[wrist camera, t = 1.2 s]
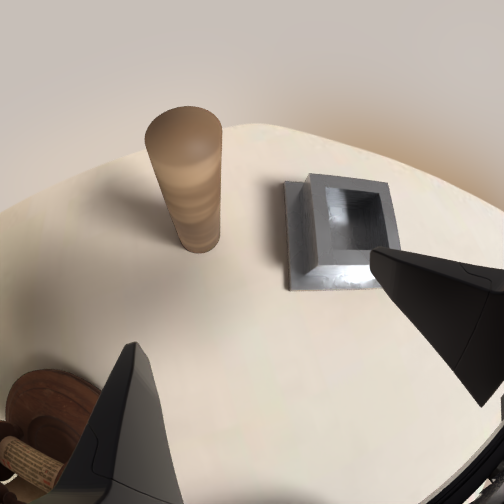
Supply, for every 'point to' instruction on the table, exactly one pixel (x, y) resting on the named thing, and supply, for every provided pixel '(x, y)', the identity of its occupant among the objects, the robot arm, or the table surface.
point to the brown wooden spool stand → (41, 431)
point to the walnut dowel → (189, 172)
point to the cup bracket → (336, 231)
